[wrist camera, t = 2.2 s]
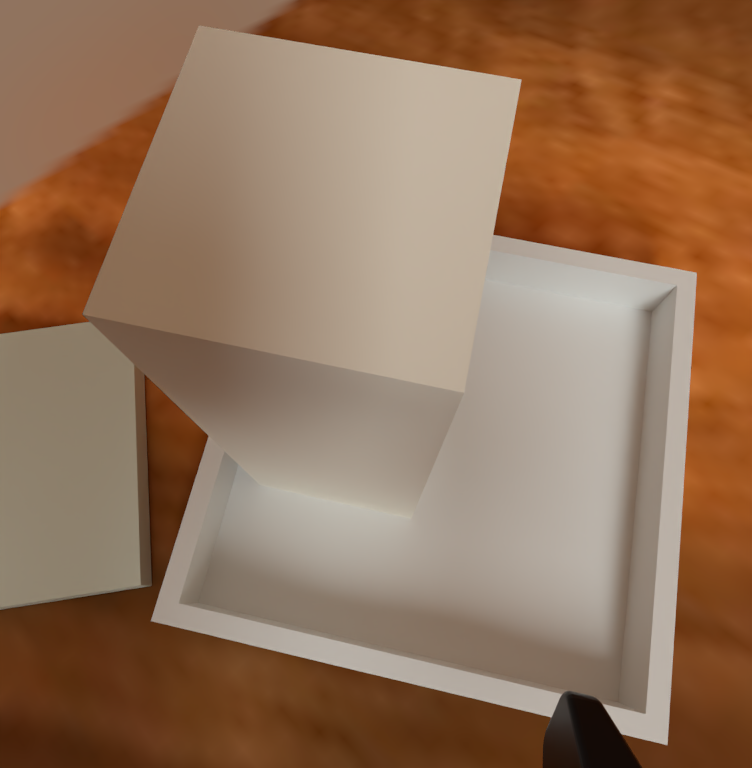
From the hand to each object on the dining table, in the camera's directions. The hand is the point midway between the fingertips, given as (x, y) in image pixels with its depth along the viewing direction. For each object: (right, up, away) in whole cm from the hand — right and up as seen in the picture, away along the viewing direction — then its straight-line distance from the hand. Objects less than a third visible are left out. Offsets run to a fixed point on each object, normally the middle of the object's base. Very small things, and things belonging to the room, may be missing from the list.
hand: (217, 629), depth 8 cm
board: (-10, 0, +13) cm, 16 cm away
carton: (+1, +2, +13) cm, 13 cm away
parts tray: (+4, +1, +13) cm, 14 cm away
